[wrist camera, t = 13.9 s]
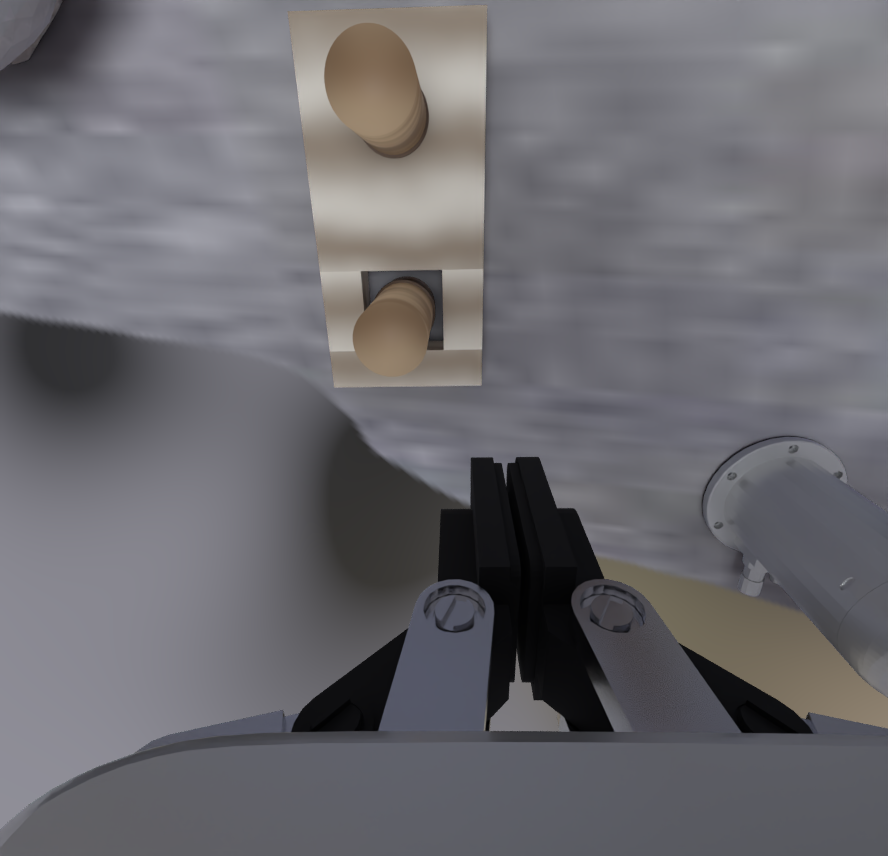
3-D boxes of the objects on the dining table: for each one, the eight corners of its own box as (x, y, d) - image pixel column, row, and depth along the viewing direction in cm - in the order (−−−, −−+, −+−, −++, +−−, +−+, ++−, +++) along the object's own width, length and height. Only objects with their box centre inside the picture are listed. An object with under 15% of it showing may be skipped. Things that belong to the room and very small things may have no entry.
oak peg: (437, 332, 39) (431, 378, 28) (381, 333, 39) (354, 379, 28) (435, 274, 37) (428, 299, 26) (377, 275, 37) (345, 300, 26)
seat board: (479, 374, 41) (489, 433, 30) (342, 375, 41) (301, 435, 30) (484, 23, 31) (501, -82, 20) (302, 29, 31) (220, -71, 20)
